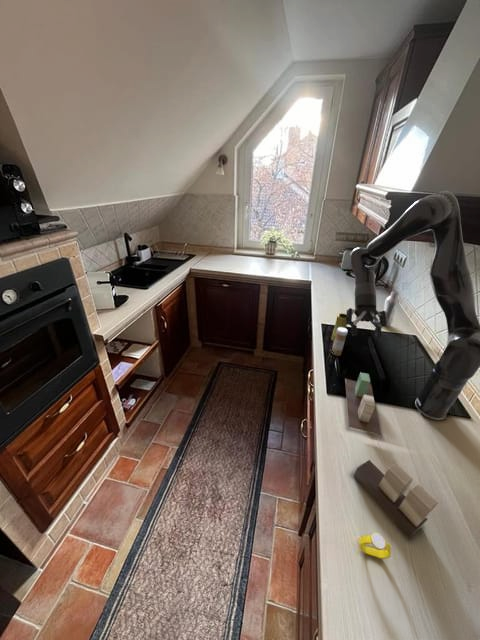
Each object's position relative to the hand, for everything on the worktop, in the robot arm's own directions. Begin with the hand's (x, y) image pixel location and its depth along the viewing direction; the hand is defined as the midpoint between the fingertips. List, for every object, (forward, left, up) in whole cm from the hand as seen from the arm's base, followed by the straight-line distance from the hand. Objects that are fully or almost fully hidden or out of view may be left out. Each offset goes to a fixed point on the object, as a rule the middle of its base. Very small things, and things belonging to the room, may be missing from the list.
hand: (366, 336), depth 96 cm
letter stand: (+30, +36, -21) cm, 51 cm away
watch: (+43, +42, -21) cm, 63 cm away
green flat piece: (+6, +8, -20) cm, 22 cm away
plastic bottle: (-52, -23, -20) cm, 61 cm away
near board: (+10, +12, -21) cm, 26 cm away
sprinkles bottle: (-6, -15, -21) cm, 27 cm away
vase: (-15, -23, -21) cm, 35 cm away
